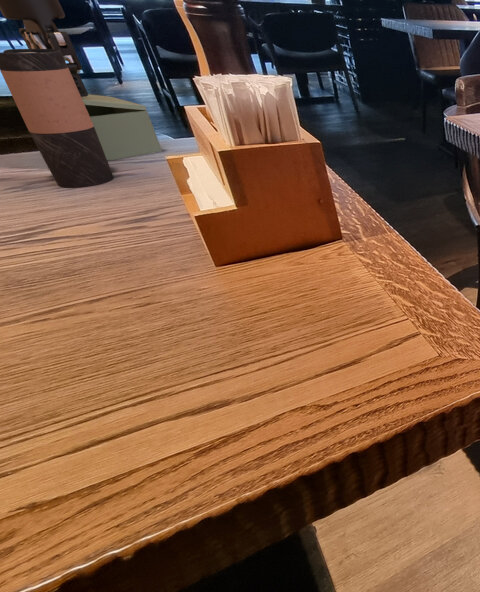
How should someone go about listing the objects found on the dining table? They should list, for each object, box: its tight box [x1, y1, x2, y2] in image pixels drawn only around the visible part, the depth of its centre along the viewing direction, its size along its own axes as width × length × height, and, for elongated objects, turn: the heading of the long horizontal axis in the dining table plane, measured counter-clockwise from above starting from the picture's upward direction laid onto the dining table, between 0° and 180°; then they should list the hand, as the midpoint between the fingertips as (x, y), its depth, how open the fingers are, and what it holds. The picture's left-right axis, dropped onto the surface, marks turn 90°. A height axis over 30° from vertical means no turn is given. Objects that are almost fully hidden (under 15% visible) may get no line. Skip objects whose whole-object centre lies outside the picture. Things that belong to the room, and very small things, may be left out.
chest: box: [85, 105, 163, 161], centre depth 98 cm, size 12×15×9 cm
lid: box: [81, 93, 147, 111], centre depth 94 cm, size 12×15×5 cm
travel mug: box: [0, 48, 114, 188], centre depth 83 cm, size 8×8×20 cm
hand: (73, 94), depth 93 cm, fingers closed on lid, 6 cm apart
